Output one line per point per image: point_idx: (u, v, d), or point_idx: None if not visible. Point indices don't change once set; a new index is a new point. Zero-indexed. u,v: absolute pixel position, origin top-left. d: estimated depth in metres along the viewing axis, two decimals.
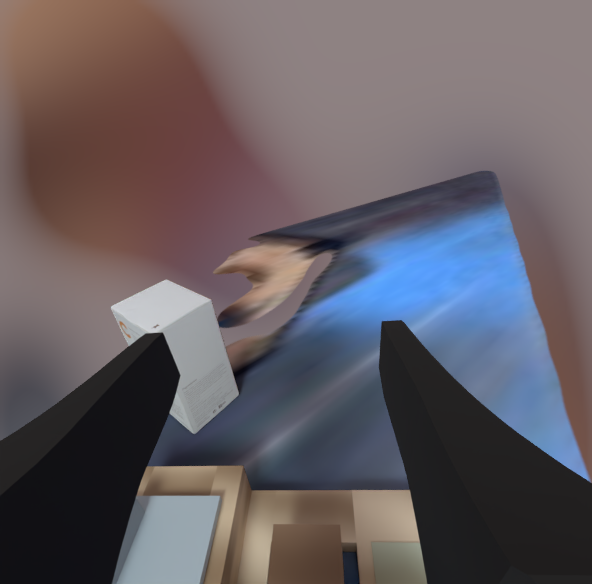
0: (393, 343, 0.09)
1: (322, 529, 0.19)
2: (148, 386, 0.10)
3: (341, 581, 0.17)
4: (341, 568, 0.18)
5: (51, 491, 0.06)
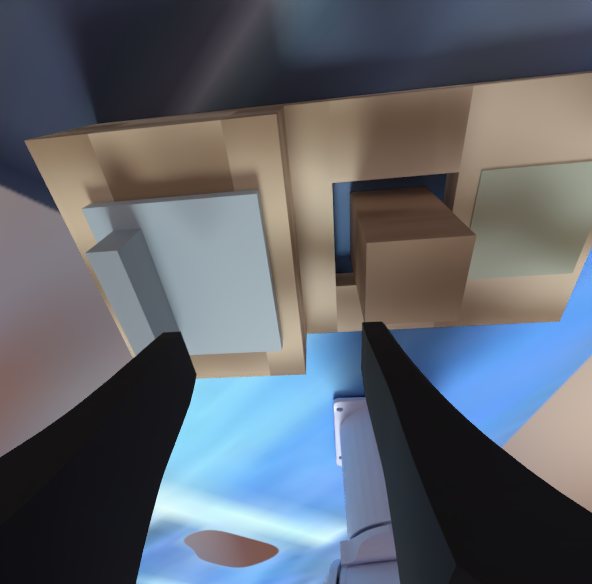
0: (370, 344, 0.09)
1: (446, 244, 0.12)
2: (167, 385, 0.10)
3: (461, 295, 0.14)
4: (464, 283, 0.13)
5: (80, 490, 0.06)
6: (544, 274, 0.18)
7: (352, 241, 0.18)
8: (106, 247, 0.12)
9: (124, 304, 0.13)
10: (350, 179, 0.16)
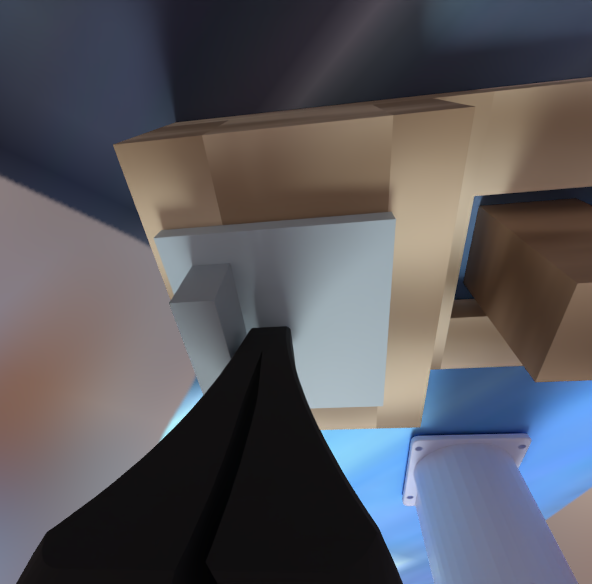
0: (263, 349, 0.09)
1: None
2: None
3: None
4: None
5: (230, 489, 0.06)
6: None
7: (481, 266, 0.15)
8: (196, 294, 0.09)
9: (211, 365, 0.10)
10: (498, 191, 0.13)
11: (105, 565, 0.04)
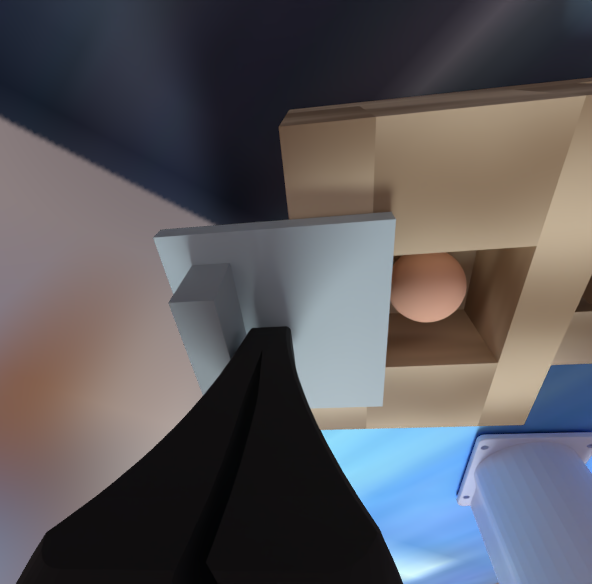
0: (263, 349, 0.09)
1: None
2: None
3: None
4: None
5: (229, 489, 0.06)
6: None
7: None
8: (196, 294, 0.09)
9: (211, 365, 0.10)
10: None
11: (105, 565, 0.04)
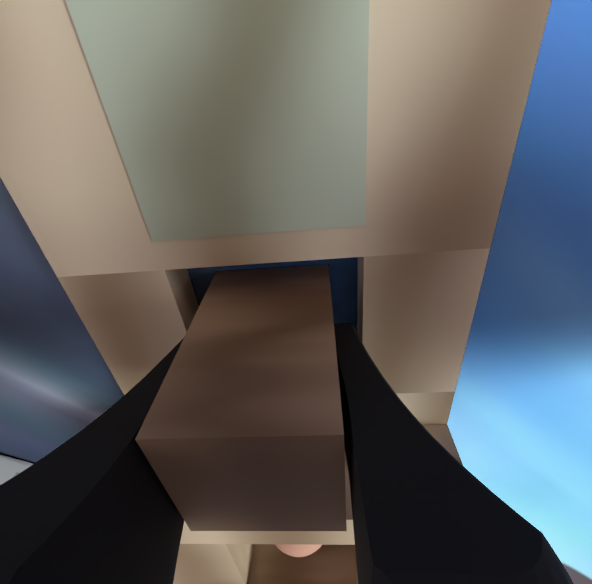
0: None
1: (165, 469, 0.07)
2: None
3: (271, 439, 0.06)
4: (242, 438, 0.06)
5: (126, 491, 0.06)
6: (368, 4, 0.07)
7: None
8: None
9: None
10: None
11: None
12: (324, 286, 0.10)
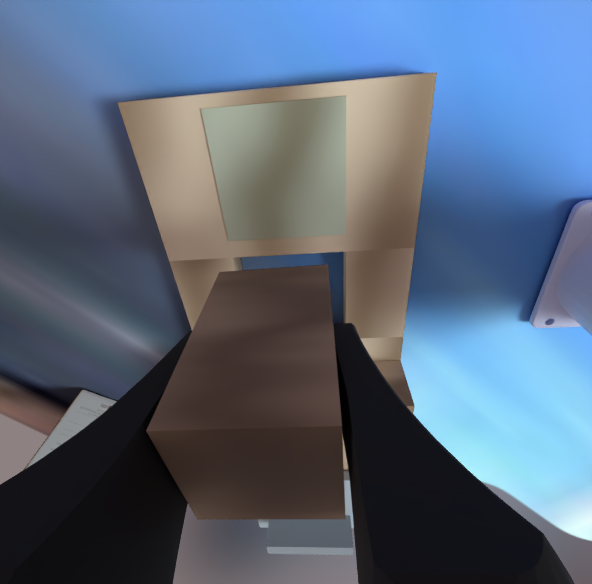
0: (336, 346, 0.09)
1: (173, 459, 0.07)
2: None
3: (274, 430, 0.07)
4: (246, 429, 0.07)
5: (125, 491, 0.06)
6: (346, 134, 0.14)
7: None
8: None
9: (299, 551, 0.23)
10: None
11: None
12: (324, 286, 0.11)
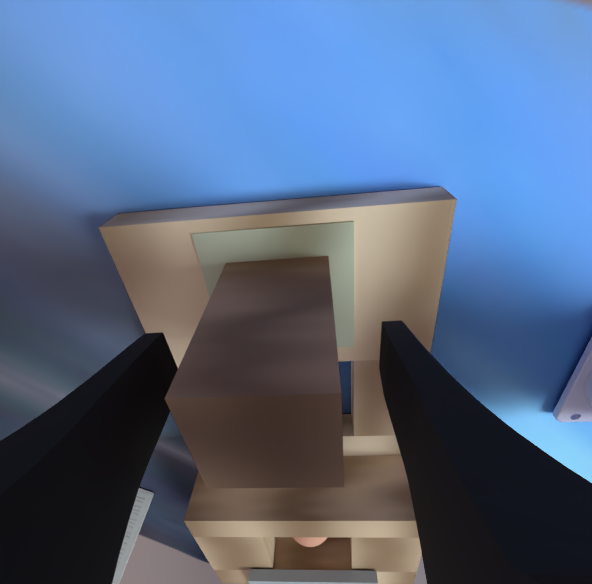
0: (393, 343, 0.09)
1: (188, 427, 0.08)
2: (148, 386, 0.10)
3: (280, 398, 0.07)
4: (255, 397, 0.07)
5: (51, 491, 0.06)
6: (353, 256, 0.13)
7: None
8: None
9: None
10: None
11: None
12: (324, 275, 0.11)
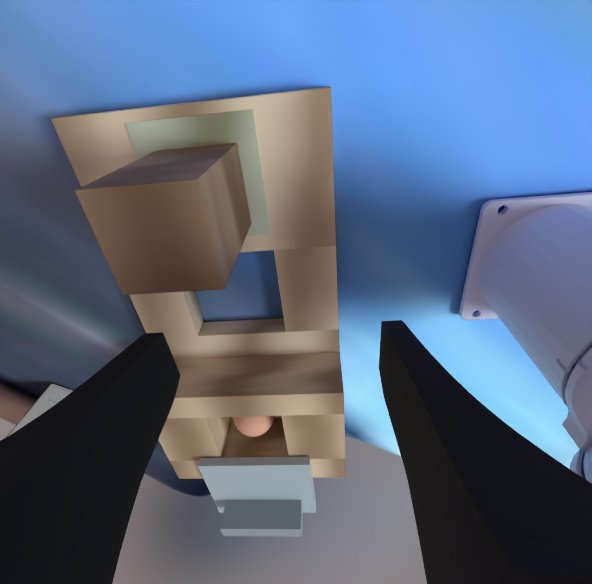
0: (393, 343, 0.09)
1: (96, 221, 0.11)
2: (148, 386, 0.10)
3: (155, 186, 0.10)
4: (138, 186, 0.10)
5: (51, 491, 0.06)
6: (257, 143, 0.16)
7: None
8: None
9: (252, 532, 0.25)
10: (193, 325, 0.22)
11: None
12: (226, 149, 0.14)
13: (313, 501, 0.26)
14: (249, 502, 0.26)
